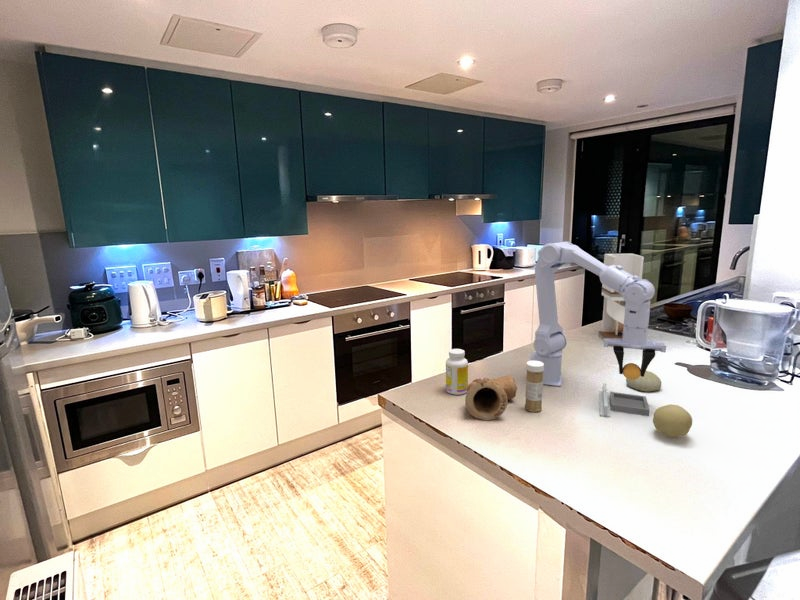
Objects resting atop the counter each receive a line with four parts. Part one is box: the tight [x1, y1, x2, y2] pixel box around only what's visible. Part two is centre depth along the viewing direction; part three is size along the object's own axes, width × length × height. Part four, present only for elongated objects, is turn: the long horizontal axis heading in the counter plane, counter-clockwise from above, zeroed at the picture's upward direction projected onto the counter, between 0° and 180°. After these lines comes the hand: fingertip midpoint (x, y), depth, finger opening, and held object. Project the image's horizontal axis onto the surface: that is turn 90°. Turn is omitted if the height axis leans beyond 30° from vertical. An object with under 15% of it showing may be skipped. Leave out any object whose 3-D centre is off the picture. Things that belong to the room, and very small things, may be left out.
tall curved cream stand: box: [598, 253, 645, 341], centre depth 172 cm, size 11×11×35 cm
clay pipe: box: [465, 375, 518, 421], centre depth 117 cm, size 19×11×15 cm
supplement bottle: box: [445, 348, 469, 396], centre depth 129 cm, size 7×7×13 cm
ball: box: [622, 362, 641, 380], centre depth 115 cm, size 4×4×4 cm
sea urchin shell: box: [625, 370, 663, 392], centre depth 129 cm, size 9×8×8 cm
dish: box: [609, 391, 651, 417], centre depth 117 cm, size 9×9×2 cm
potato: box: [652, 404, 693, 439], centre depth 101 cm, size 8×8×8 cm
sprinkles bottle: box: [524, 360, 544, 413], centre depth 116 cm, size 5×5×14 cm
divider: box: [598, 382, 611, 418], centre depth 119 cm, size 2×16×3 cm, turn 156°
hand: (631, 374), depth 116 cm, fingers closed on ball, 4 cm apart
